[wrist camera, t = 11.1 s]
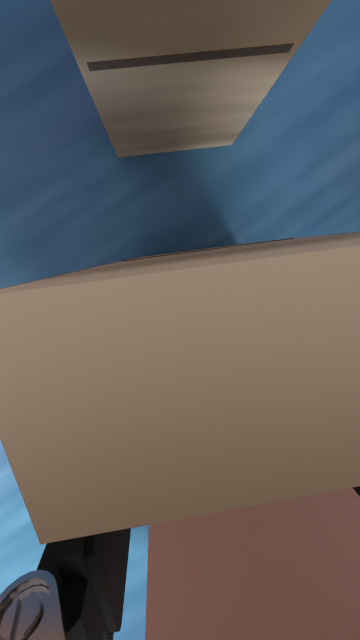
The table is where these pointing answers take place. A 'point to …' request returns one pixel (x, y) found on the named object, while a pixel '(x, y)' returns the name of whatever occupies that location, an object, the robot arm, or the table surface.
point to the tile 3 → (258, 572)
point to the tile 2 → (182, 384)
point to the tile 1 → (181, 64)
